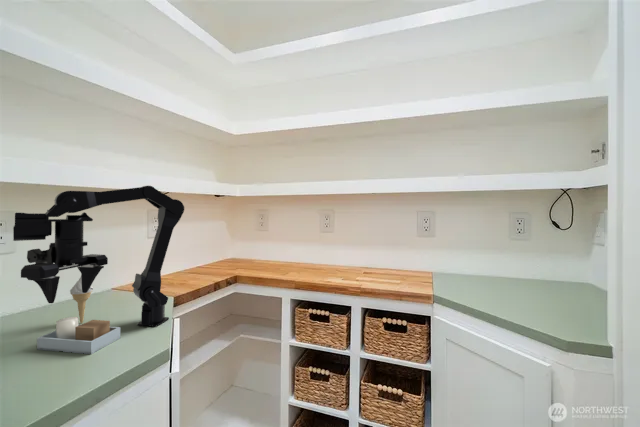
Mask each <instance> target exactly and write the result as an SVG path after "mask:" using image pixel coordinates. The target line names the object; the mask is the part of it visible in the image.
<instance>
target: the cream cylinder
mask: <svg viewBox="0 0 640 427" xmlns="http://www.w3.org/2000/svg"><path fill="white" fill-rule="evenodd" d="M78 324H79V316H67V317H63V318H60V319H58V320H56V324H55V326H56V327H55V328H56V338H59V339H72V340H75V330H76V327H77V326H78Z"/></svg>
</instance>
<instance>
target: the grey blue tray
mask: <svg viewBox="0 0 640 427" xmlns="http://www.w3.org/2000/svg"><path fill="white" fill-rule="evenodd" d="M79 325H82V323H80V324H79V323H78V326H79ZM119 339H121V326H120V327H119V326H110V332H108V333H106V334H104V335H102V336H100V337H98V338H96V339H94V340H92V341H85V340H72V339H59V338H56V330H52V331H51V332H48V333H45V334H43V335H40V336H38V337H37V338H36V350H37V351H49V352H59V351H63V352H62V353H71V352H72V354H73V353H74V354H83V353H84V354H83V355H92V354H94V353H97V352H98V351H99V350H101V349H102V348H105V347H107V346H109V345H110V344H112V343H114V342H116V341H118V340H119Z"/></svg>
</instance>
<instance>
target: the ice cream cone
mask: <svg viewBox="0 0 640 427" xmlns="http://www.w3.org/2000/svg"><path fill="white" fill-rule="evenodd" d="M93 289H94V287H93V286H92V285H91V286H90V288H89V290H88V292H87V293H83V292H82V280H81V276H80V277H79V278H78V280H77V281H76V283H75V284H74V285H73V286H72V288H70V290H69V292H70V293H69V294H70V295H71V297H72V299H73V301H75V302H76V303H77V309H78V310H77V311H78V318H79V322H80V324H84V318H85V310H86V303H87V300H88V299H89V298H90V297H91V295H92V293H93Z"/></svg>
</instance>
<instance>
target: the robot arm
mask: <svg viewBox="0 0 640 427" xmlns="http://www.w3.org/2000/svg"><path fill="white" fill-rule="evenodd" d="M138 200H145V201H147V202H148V203H149V204H151V206H153V207H154V208H156V209H158V210H157V221H158V222H157V223H158V224H157V225H158V226H157V228H156V231H155V235H154V239H153V242H152V245H151V249H150V252H149V254H148V258H147V262H146V264H145V266H144V267H145V268H144V270H143V271H142V272H141V273H136V274H135V276H134V281H133V283H132V284H131V287H132V288H133V289H132V291H133V294H134V295H135V296H136V297H137V298H138V299H139V300H141V302H143V304H142V305H141V316H140V317H141V318H140V320H141V321H139V322H138V323H137V322H136V325H137V326H141V327H143V326H144V327H158V326H159V325H162V324H163V323H165V322H166V321H169V319H170V318H169V317H167V316H165V315H166V314H165V309H166V308H165V306H166V305H167V303H168V301H169V297H168V296H167V295H165V294H164V293H163V292H161V288H162V275H161V273H162V272H161V271H162V268H163V265H164V261H165V258H166V254H167V253H168V252H167V251H168V248H169V245H170V241H171V237H172V235H173V231H174V228H175V227H176V225H177V224H178V223H179V222H180V220H181V218H182V217H183V214H184V212H185V205H184V204H183V202H182V201H181V200H178V199H174V198H172V197H170V196H169V195H167V194H166V193H164V192H161V191H159V190H158V189H156V188H155V187H154V186H151V185H143V186H140V187H132V188H123V189H122V188H121V189H114V190H113V189H112V190H104V191H89V190H66V191H61V192H60V193H58V194H57V195H56V196H55V198H54V200H53V201H54V204H53V205H52V206H51V207H50V208H49V209H47V210H46V212H45V213H40V212H39V213H34V212H33V213H31V212H30V213H28V212H27V213H26V212H15V213H14V225H13V226H12V227H13V228H12V229H13V238H12V239H13V240H12V241H14V242H21V241H22V242H23V241H41V240H46V238H47V237H49V236H52V234H53V232H52V231H53V225H52V224H53V222H54V242H50V243H49V247H48V249H47V250H45V249H44V250H42V249H41V248H34V249H33V248H32V249H29V250H27V253H26V259H27V262H28V263H29V264H26V265H24V266H23V267H22V268H21V269H20V278H21V279H22V278H23V279H24V278H25V279H27V281H33V282H35V283H36V284H37V285H38V286H39V288H40V289H41V291H42V293H43V294H44V297H45V299H46V301H47V304H54V302H55V300H56V297H57V291H58V288H59V283H60V278H61V277H60V275H58V274H59V273H60V272H61V271H64V270H69V269H70V270H71V269H74V268H77V269H78V271H79V272H80V274H81V275H80V277H81V280H82V292H83V293H87V292H88V290H89V288H90V286H92V285H93V283H94V281H95V280H96V278H97V276H98V275H99V273H100V272H101V271H102V269H104V267H105V265H108V264H109V263H108V262H109V261H108V257H107V255H106V254H97V253H96V254H95V253H94V254H93V253H91V254H84V247H86V246H88V241H84V222H93V220H94V219H93V218H92V217H90V216H89V215H88V214H87V212H83V211H85V210H88V209H93V208H95V207H98V206H102V205H109V204H115V203H116V204H117V203H123V202H130V201H138ZM78 212H81V214H74V213H78ZM65 214H66V216H65V218H59V217H61V216H64V215H65ZM56 218H57V219H56Z"/></svg>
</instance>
